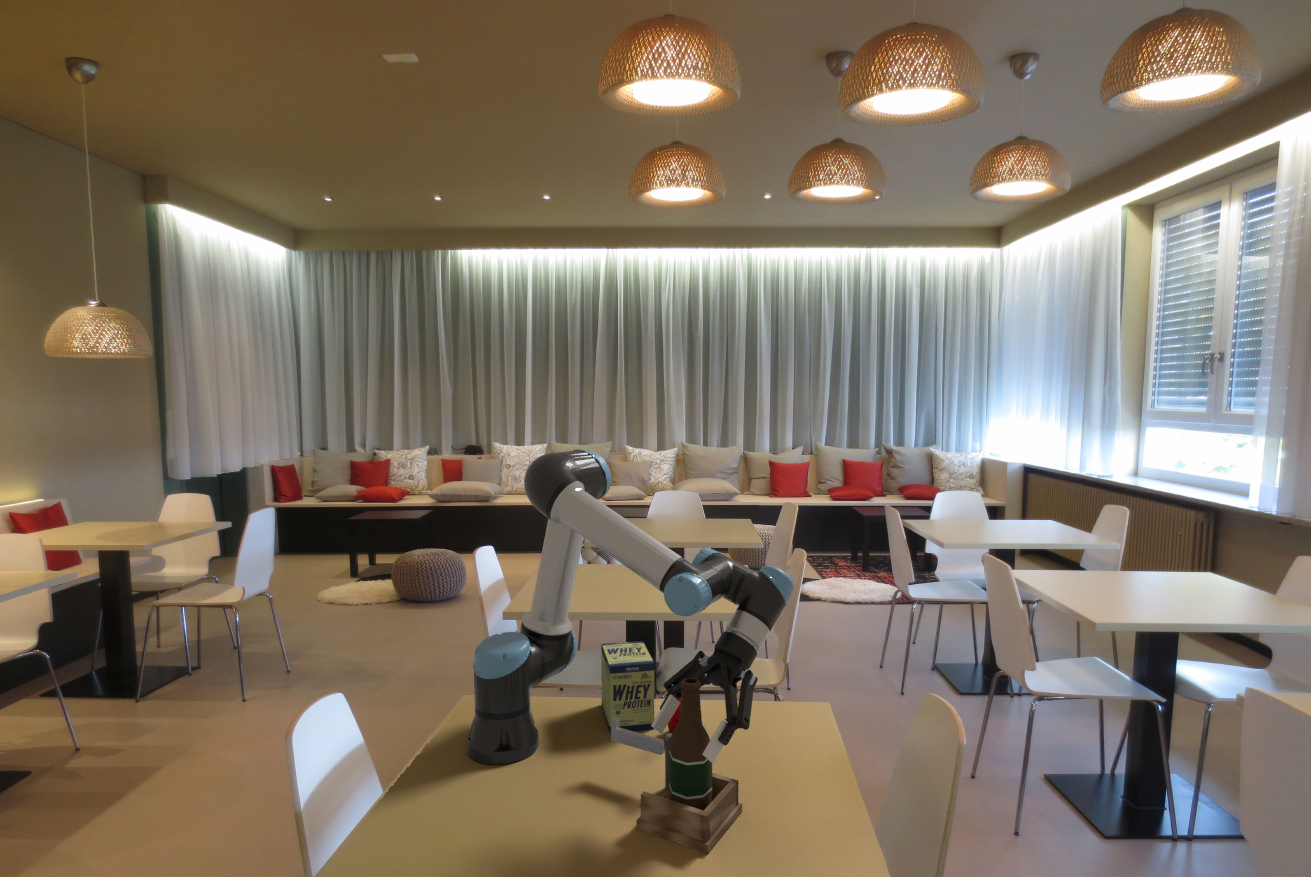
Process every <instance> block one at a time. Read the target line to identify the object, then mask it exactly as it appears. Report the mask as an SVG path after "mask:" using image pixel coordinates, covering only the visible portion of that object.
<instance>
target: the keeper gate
mask: <svg viewBox="0 0 1311 877" xmlns="http://www.w3.org/2000/svg"><path fill="white" fill-rule="evenodd" d="M610 741H612V742H616V743H618V744H622V745H625V746H629V747H633V748H635V749H639V750H642V751H646V752H648V753H649V752H650V753H652V754H655V755H659V756H662V755H663V754H664V753H665V739H661V738H658V737H656V736H655V737H654V736H651V735H647V734H644V733H640V732H637V731H630V730H627V729H623V728H620V727H619V718H618V717H615V716H614V717H613V718H611V733H610Z"/></svg>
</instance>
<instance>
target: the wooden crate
mask: <svg viewBox="0 0 1311 877" xmlns="http://www.w3.org/2000/svg"><path fill="white" fill-rule="evenodd" d="M664 735H665V736H664V737H665V738H664V753H665V754H664V755H665V756H664V759H665V760H664V761H665V762H664V770H665V771H664V774H665V775H664V777H665V778H664V785H665V786H664V787H665V789H664V790H665V792H664V793H662V795H657V794H654V793H650V792H648V791H645V790H644V791H643V792H641V794H640V815H639V817H638V818H637V819H636V821H635V822H636V824H635V826H636V829H638V830H640V831H643V832H646V833H648V834H651V835H654V836H657V837H659V838H661V839H665V840H668V841H670V842H673V843H676V844H679V845H682V846H685V847H687V848H690V849H692V850H696V851H698V852H701V853H704V854H707V855H709V854H710V853H711V852H712V850H713V849H714V848H715V846H716V845H717V844H718V843H719V842H720V840H721V839H722V838H723V837H724V835H725V834H726V833H727V831H728V830H729V829H730V828H731V827H732V826H733V825H734V823H735V822H736V820H737V819H738V818H739V816H740V815H741V814H742V813H743V803H741V802H739V780H738V779H734V778H731V777H728V776H725V775H722V774H719V773H718V774H717V773H714V772H712V802H711V803H710V804H709V805H708V806H707V808H706V809H705V810H704V811H703V810H700V809H697V808H694V807H691V806H688V805H685V804H682V803H679V802H676V801H673V800H670V799H669V742H670V738H671V735H672V734H671V733H670V732H669V733H666V734H664Z"/></svg>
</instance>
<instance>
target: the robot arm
mask: <svg viewBox="0 0 1311 877" xmlns="http://www.w3.org/2000/svg"><path fill="white" fill-rule="evenodd" d="M523 485H524V486H523V487H524V491H525V494H526V497H527V498H528V500H529V502H530V503H531V505H532V506H533V507H534V508H535V510H537V511H538V512H540V514H542V515H543V516H545V517H546V518H548V520H547V523H546V524H547V525H546V530H545V534H544V535H545V536H544V540H543V544H542V551H541V556H540V559H539V560H540V561H539V566H538V571H537V574H536V575H537V577H536V581H535V586H534V592H533V597H532V601H531V607H530V611H528V612H526V613H525V614H524V615H523V616H522V620H521V623H520V630H519V632H517V631H516V632H515V631H505V632H502V633H496V634H492V635H490V636H488V637H485V639H482V640H481V641H480V642H479V643H478V645H477V646H476V648H475V650H474V657H473V658H474V660H473V665H472V666H473V668H472V669H473V682H474V683H473V684H474V685H473V686H474V692H473V693H474V716H473V719H472V722H471V727H470V730H469V734H468V736H467V740H466V753H467V756H468V757H469V758H470V759H472V760H473V761H475V762H478V763H481V764H485V765H486V764H487V765H506V764H511V763H515V762H519V761H522V760H524V759H526V758H528V757H530V756H532V755H533V754H534V753H535V752H536V751H537V750H538V748H539V744H540V740H539V739H540V738H539V736H540V735H539V730H538V728H537V727H536V725H535V720H534V717H533V714H532V711H531V689H533V688H534V687H535V686H537V685H539V684H541V683H542V682H545V681H546V680H548V679H551V678H552V677H554V676H556V675H558V674H560V673H562V672H563V671H564V670H565V669H566V668H568V667H569V666H570V665H571V664H572V663H573V660H574V659H575V656H576V653H577V648H578V640H577V636H575V631H574V629H573V622H572V621H571V619H570V618H569V612H570V608H571V602H572V596H573V593H574V587H575V581H576V577H577V572H578V568H579V562H580V559H581V553H582V548H583V544H584V539H586V540H587V541H589V542H590V543H592V544H593V545H594V546H595V547H598V548H599V549H600V550H601V551H603V552H604V553H606V554H608V556H610V557H611V558H613V559H615V560H616V561H618V562H619V563H620V564H621V565H623V566H624V567H626V568H627V569H629V570H630V571H632V572H633V573H634V574H635V575H637V576H639V577H640V578H641V579H643V580H644V581H645V582H647V583H648V584H650V585H651V586H652V587H653V588H656V589H657V590H659V592H661V593H662V594H663V598H664V599H663V600H664V602H665V604H666V606H667V607H668V609H669V610H670V611H671V612H672V614H673V613H674V614H675V615H678V616H680V617H691V616H694V615H695V614H698V613H701V612H703V611H705V610H706V609H707V607H709V606H710V605H712V604H713V603H716V602H717V601H719V600H720V599H724V600H727V601H728V602H730V603H732V604H733V605H736V606H737V608H736V609H735V611H734V613H733V614H732V616H731V618H730V620H729V621H728V622H727V624H726V626H725V628H724V629H725V631H723V632H721V634H720V636H719V638H718V639H717V641H716V643H715V644H714V650H713V653H712V654H711V655H710V656H708V655H707V654H706V653H705V652H704V651H703V650H699V651H698V652H697V653H696V654H695V655H694V657H693V659H691V660H690V661H689V662H688V663H686V664H685V665H684V666H683V667H682V668H681V669H679V670H678V671H677V672H676V673H675V674H673V675H672V676H671V677H670V678H668V679H667V680H666V681H665V682H664V683H663V687H664V689H665V690H666V692H667V694H666V696H665V698H664V700H663V701H662V703H661V705H660V706H659V712H658V714H657V715H656V717H654V721H653V723H652V725H651V726H652V727H653V728H654V729H653V730H655V731H657V733H659V734H660V735H663V733H664V731H665V730H666V727H668V723H669V721H670V719H671V718H672V716H673V714H674V713H675V711H676V709H677V708H678V706H679V704H680V701H679V699H680V698H681V693H682V688H681V686H680V684H681V681H682V680H683V679H685V678H695V679H698V680H699V681H700V684H701V688H702V687H703V686H705V685H707V686H709V685H712V686H715V687H719V688H720V689H721V690H723V692H724V703H725V716H726V717H725V718H724V720H723V719H721V721H720V722H719V724H718V726H717V728H716V730H715V731H714V734H712V736H711V738H710V742H709V744H708V745H707V747H706V749H705V751H704V752H703V754H702V755H703V756H705V757H706V758H707V759H708V760H709V761H710V762H712V765H713V764H715V762H716V761H717V758H718V756H719V755H720V753H721V751H722V749H723V747H724V746H725V747H726V746H727V745H728V744H729V742H730V741H731V740H732V738H733V735H734V734H735V732H736V731H737V730H739V729H743V730H744V731H747V730H749V728H750V724H751V716H752V707H753V697H754V691H755V690H754V689H755V687H756V685H757V683H758V677H757V676H756V675H755V674H754V673H753V671H752V670H751V669H750V668H751V667H752V665H753V663H754V661H755V659H756V658H757V656H758V651H760V650H761V648H762V647H763V645H764V643H765V641H766V639H767V638H768V636H769V634H770V633H771V631H772V629H773V627H774V626H775V624H776V622H777V620H778V619H779V618H780V616H781V614H782V613H783V611H784V609H785V608H786V606H787V604H788V601H789V600H790V597H791V595H792V593H793V591H794V588H795V584H794V581H793V579H792V578H791V576H790V575H789V574H788V573H787V572H785V571H784V570H782V569H780V568H779V567H777V566H772V565H770V564H766V565H763V566H762V567H761V568H760V569H758V571H756V570H754V569H751V568H750V567H749V566H746V565H743V564H742V563H740V562H738V561H736V560H734V559H733V558H731V557H728V556H727V555H725V554H724V553H723V552H720V551H718V550H717V551H716V550H715V549H713V548H710V547H704V548H702V549H700V551H699V552H698V553H696V554H695V556H694V558H693V560H692V561H691V562H689V561H688V560H687V559H686V558H684V557H682V556H681V555H679V554H678V553H676V552H675V551H673V550H672V549H671V548H669V547H668V546H666V545H665V544H663V543H662V542H661V541H659V540H657V539H656V538H654V537H653V536H651V535H650V534H649V533H647V532H646V531H645V530H643V529H641V528H640V527H638V526H637V525H636V524H634V523H632V522H631V521H630V520H628V519H627V518H625V517H623V516H622V515H620V514H619V513H618V512H616V511H615V510H613V509H612V508H610V507H609V506H607V505H606V504H605V503H603V502H602V501H601V499H602V498H604V496H605V495H607V493H608V492H609V490H610V487H611V485H612V472H611V469H610V466H609V465H608V464H607V462H606V460H605V458H603V456H602V455H600V454H599V453H597V452H596V451H594V450H590V449H581V448H580V449H572V450H567V451H560V452H551V453H544V454H542V455H540V456H538V457H536V458H535V459H534V460H532V462H531V463H530V464H529V465H528V468H527V469H526V471H525V474H524V479H523ZM740 681H741V683H740V690H739V689H738V683H739V682H740ZM738 690H739V692H738ZM738 693H739V695H738Z"/></svg>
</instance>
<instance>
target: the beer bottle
mask: <svg viewBox="0 0 1311 877" xmlns="http://www.w3.org/2000/svg"><path fill="white" fill-rule="evenodd" d="M680 686H681V688H682V693H681V708H680V718H679V723H678V725H677V726H676V728H675V729H674V731H673V732H672V735H671V738H670V742H669V799H670V800H673V801H676V802H679V803H682V804H685V805H688V806H691V807H694V808H697V809H700V810H703V811H704V810H705V809H706V808H707V806H708V805H709V804H710V803H711V802H712V773H713V763H712V762H710V761H709V760H708V759H707V758H706V757H705V756H703V755H702V754H703V752H704V751H705V749H706V747H707V745H708V744H709V742H710V740H711V738H710V736H709V734H708V732H707V730H706V728H705V726H704V725H703V721H702V720H703V719H701V715H702V710H701V708H702V706H701V692H700V689H701V688H702V687H701V684H700V681H699V680H698V679H695V678H685V679H683V680H682V681H681V684H680Z"/></svg>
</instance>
